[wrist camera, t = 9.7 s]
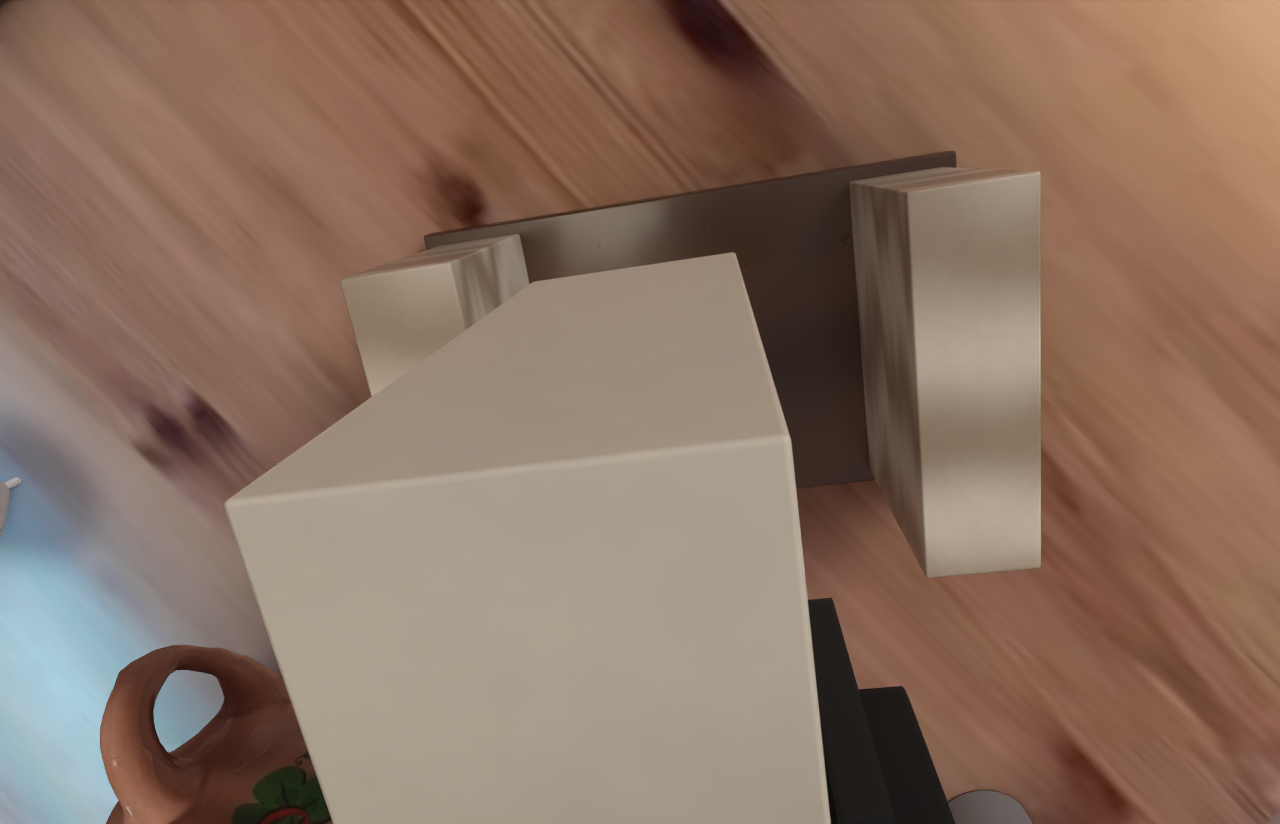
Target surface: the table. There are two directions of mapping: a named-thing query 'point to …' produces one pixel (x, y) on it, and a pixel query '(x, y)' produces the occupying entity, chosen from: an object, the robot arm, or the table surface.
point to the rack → (815, 326)
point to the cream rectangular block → (553, 571)
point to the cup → (987, 809)
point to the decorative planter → (209, 748)
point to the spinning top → (6, 498)
